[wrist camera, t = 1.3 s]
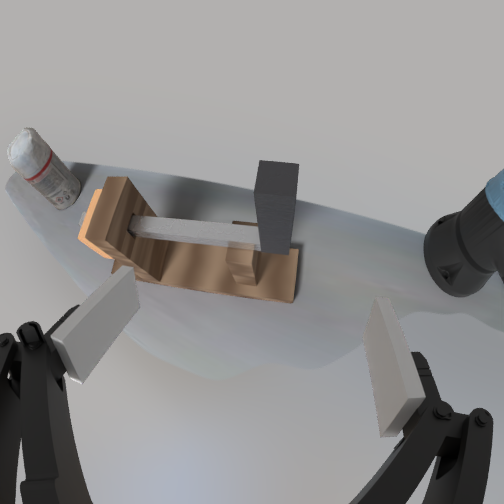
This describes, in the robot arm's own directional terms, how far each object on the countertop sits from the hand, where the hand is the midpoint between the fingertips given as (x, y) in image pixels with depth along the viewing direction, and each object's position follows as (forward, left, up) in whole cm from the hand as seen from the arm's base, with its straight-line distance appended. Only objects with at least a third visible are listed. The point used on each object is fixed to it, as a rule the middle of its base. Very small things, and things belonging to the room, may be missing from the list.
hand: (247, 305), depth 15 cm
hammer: (+12, -10, -16) cm, 22 cm away
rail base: (+12, -10, -29) cm, 33 cm away
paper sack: (+47, -22, -29) cm, 59 cm away
